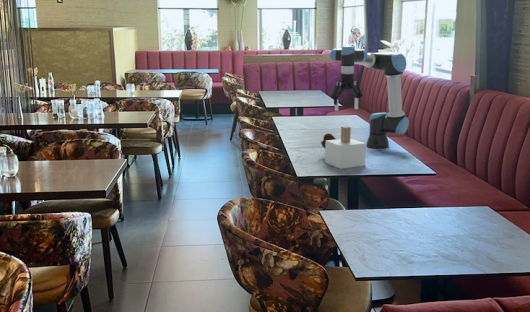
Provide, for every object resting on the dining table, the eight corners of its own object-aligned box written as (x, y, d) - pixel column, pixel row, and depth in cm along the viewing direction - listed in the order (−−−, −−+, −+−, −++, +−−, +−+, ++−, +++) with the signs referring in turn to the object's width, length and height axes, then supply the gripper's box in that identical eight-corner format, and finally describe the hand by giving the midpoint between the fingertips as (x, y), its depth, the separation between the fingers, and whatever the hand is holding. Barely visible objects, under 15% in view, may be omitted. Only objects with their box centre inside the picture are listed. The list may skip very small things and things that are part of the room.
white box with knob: (349, 159, 338) (350, 123, 333) (365, 165, 323) (366, 128, 318) (325, 162, 331) (325, 125, 326) (340, 168, 316) (341, 130, 311)
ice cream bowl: (337, 158, 340) (338, 135, 337) (319, 158, 342) (320, 134, 339) (338, 155, 350) (339, 132, 347) (321, 154, 352) (322, 131, 349)
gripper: (361, 72, 324) (360, 107, 328) (325, 73, 314) (324, 110, 318) (369, 72, 317) (367, 109, 322) (332, 74, 307) (331, 112, 312)
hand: (346, 109), depth 320 cm, fingers open, 13 cm apart
